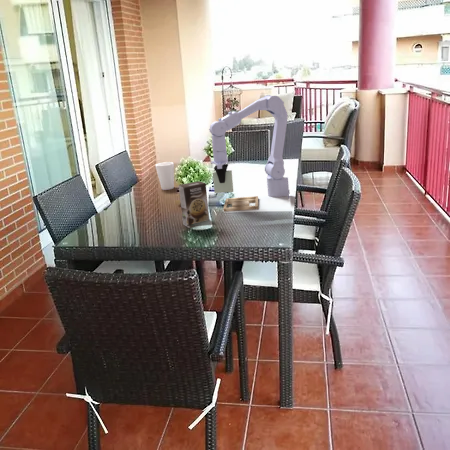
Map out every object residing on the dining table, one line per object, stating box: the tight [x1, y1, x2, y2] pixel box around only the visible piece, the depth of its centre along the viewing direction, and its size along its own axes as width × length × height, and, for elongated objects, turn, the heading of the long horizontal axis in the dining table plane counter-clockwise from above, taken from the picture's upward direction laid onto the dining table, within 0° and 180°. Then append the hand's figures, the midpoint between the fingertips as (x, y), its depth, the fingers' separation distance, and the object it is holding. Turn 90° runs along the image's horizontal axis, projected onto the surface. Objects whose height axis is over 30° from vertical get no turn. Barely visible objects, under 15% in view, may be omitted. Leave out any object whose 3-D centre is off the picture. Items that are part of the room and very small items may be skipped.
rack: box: [222, 195, 259, 212], centre depth 203 cm, size 14×16×2 cm
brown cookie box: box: [178, 181, 210, 229], centre depth 186 cm, size 9×6×16 cm
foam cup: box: [155, 161, 175, 191], centre depth 250 cm, size 10×9×13 cm
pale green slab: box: [212, 169, 234, 194], centre depth 205 cm, size 8×2×9 cm, turn 86°
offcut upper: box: [231, 201, 250, 207], centre depth 198 cm, size 7×4×2 cm, turn 93°
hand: (222, 182), depth 205 cm, fingers closed on pale green slab, 2 cm apart
